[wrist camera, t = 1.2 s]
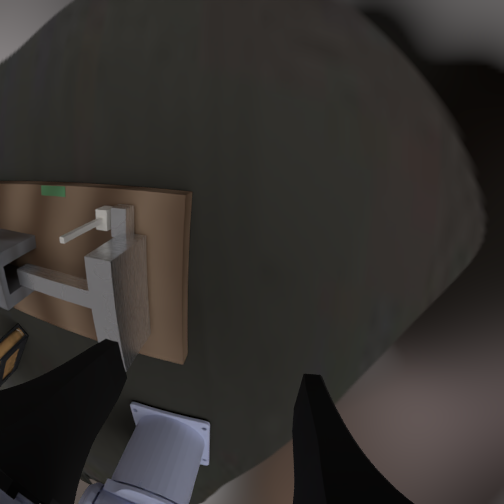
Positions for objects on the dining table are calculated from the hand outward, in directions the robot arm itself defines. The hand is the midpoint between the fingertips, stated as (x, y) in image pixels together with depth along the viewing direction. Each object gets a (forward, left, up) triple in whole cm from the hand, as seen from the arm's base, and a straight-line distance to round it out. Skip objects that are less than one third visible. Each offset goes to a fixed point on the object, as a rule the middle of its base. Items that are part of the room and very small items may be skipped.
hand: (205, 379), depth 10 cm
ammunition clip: (-15, +26, -9) cm, 31 cm away
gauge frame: (-1, +15, -9) cm, 18 cm away
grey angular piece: (0, +10, -7) cm, 13 cm away
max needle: (+4, +8, -7) cm, 11 cm away
